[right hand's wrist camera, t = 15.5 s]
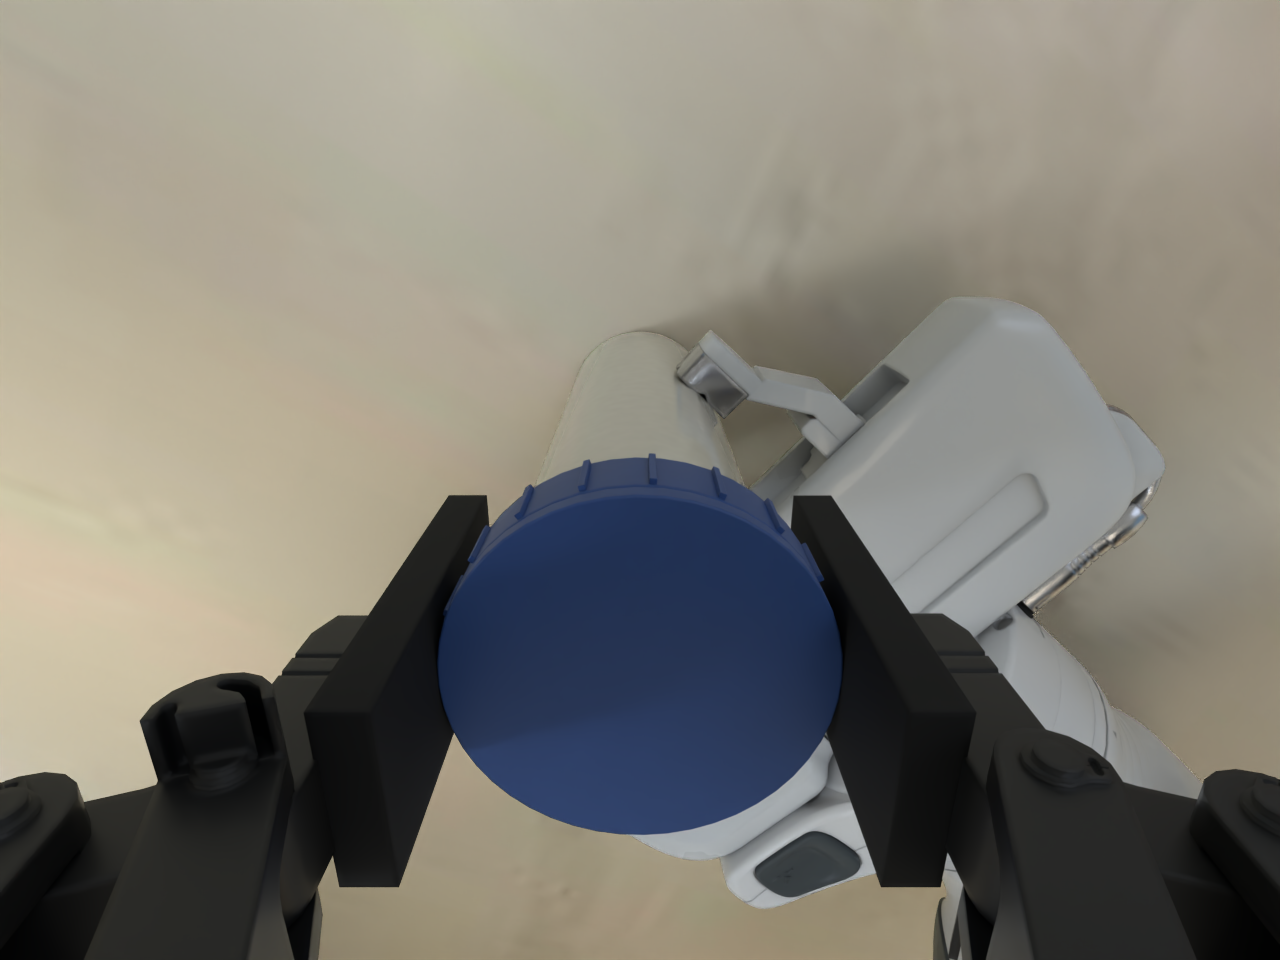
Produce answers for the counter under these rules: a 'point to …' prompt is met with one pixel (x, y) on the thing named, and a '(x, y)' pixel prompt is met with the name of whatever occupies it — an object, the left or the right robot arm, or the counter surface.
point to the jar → (637, 411)
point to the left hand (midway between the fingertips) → (616, 432)
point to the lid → (639, 648)
